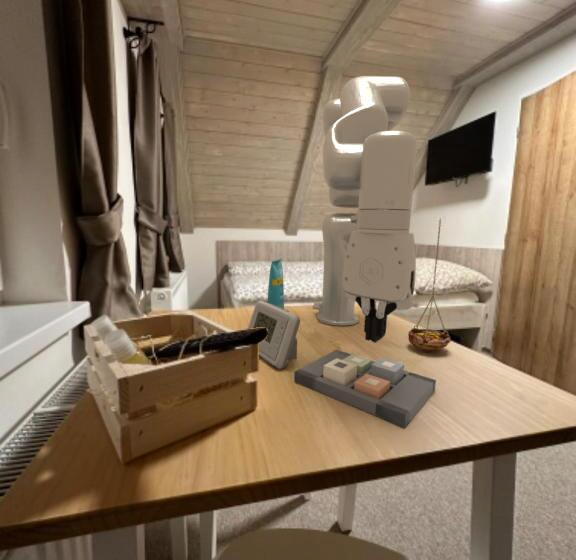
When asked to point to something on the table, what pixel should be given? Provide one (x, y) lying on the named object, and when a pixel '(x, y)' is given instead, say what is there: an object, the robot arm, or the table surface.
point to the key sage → (360, 363)
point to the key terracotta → (372, 386)
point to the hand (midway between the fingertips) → (374, 338)
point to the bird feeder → (428, 337)
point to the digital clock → (276, 333)
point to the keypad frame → (391, 407)
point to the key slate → (388, 370)
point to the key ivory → (340, 371)
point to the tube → (276, 284)
